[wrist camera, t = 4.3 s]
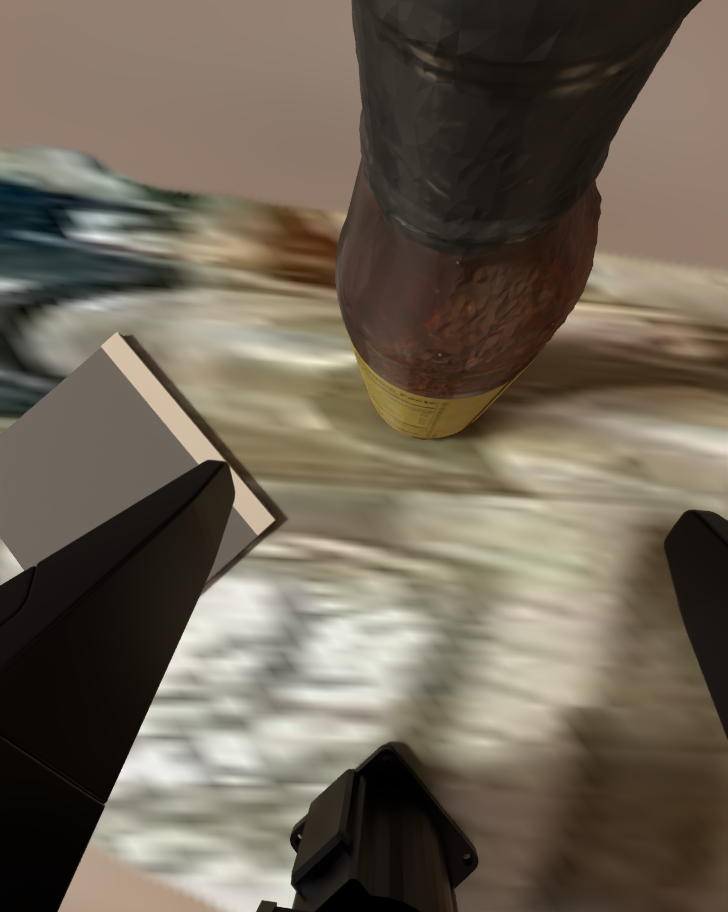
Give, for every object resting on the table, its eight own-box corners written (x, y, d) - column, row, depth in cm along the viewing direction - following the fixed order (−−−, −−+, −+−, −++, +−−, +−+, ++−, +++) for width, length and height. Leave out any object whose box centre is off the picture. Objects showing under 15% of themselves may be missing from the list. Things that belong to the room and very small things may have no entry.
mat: (277, 519, 22) (275, 520, 21) (106, 673, 22) (99, 677, 21) (122, 335, 24) (116, 332, 23) (-38, 475, 23) (-47, 474, 23)
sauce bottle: (442, 310, 23) (786, -1002, 3) (509, 403, 22) (1618, -542, 2) (342, 374, 23) (-3, -502, 3) (404, 470, 22) (520, 160, 2)
